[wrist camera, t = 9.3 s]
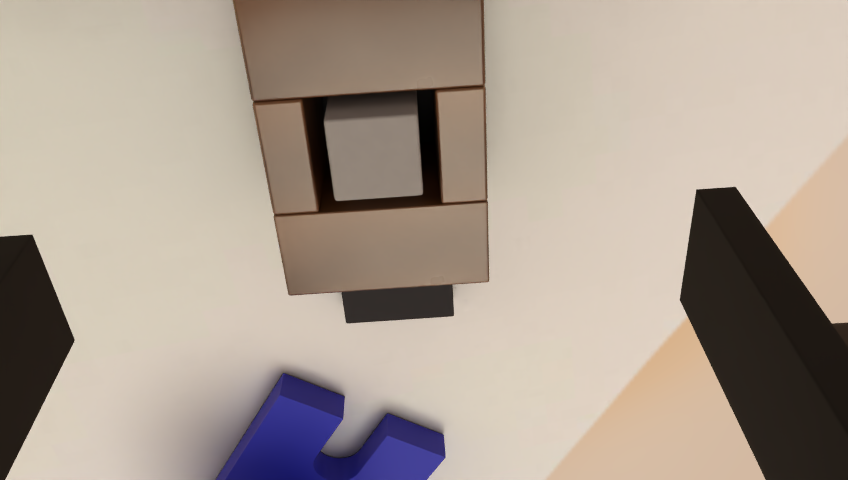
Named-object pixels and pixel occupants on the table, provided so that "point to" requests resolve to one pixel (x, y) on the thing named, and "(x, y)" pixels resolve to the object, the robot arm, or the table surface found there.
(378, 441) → the mount
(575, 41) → the table surface
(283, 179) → the brown wooden frame
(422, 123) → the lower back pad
